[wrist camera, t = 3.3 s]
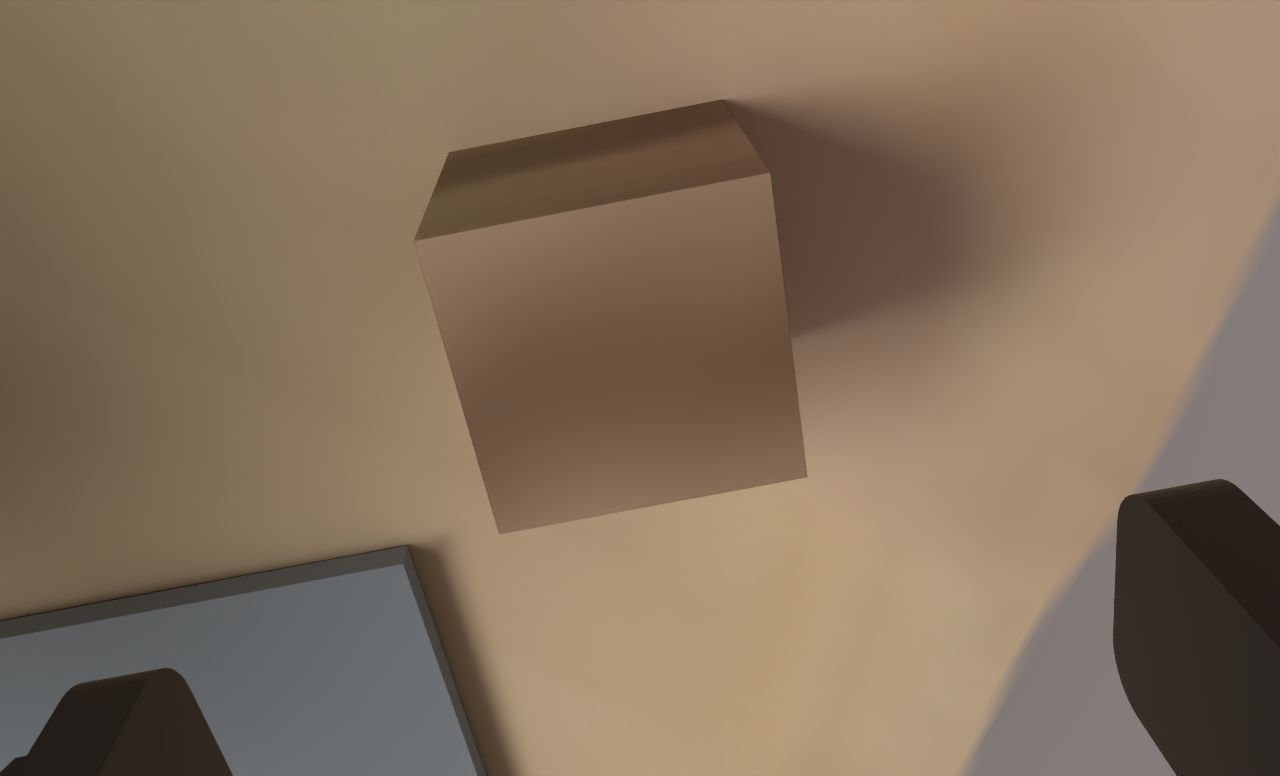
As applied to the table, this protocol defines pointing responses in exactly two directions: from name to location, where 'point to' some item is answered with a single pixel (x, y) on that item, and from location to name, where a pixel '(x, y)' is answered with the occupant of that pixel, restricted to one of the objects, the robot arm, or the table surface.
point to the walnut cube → (615, 315)
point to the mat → (266, 668)
